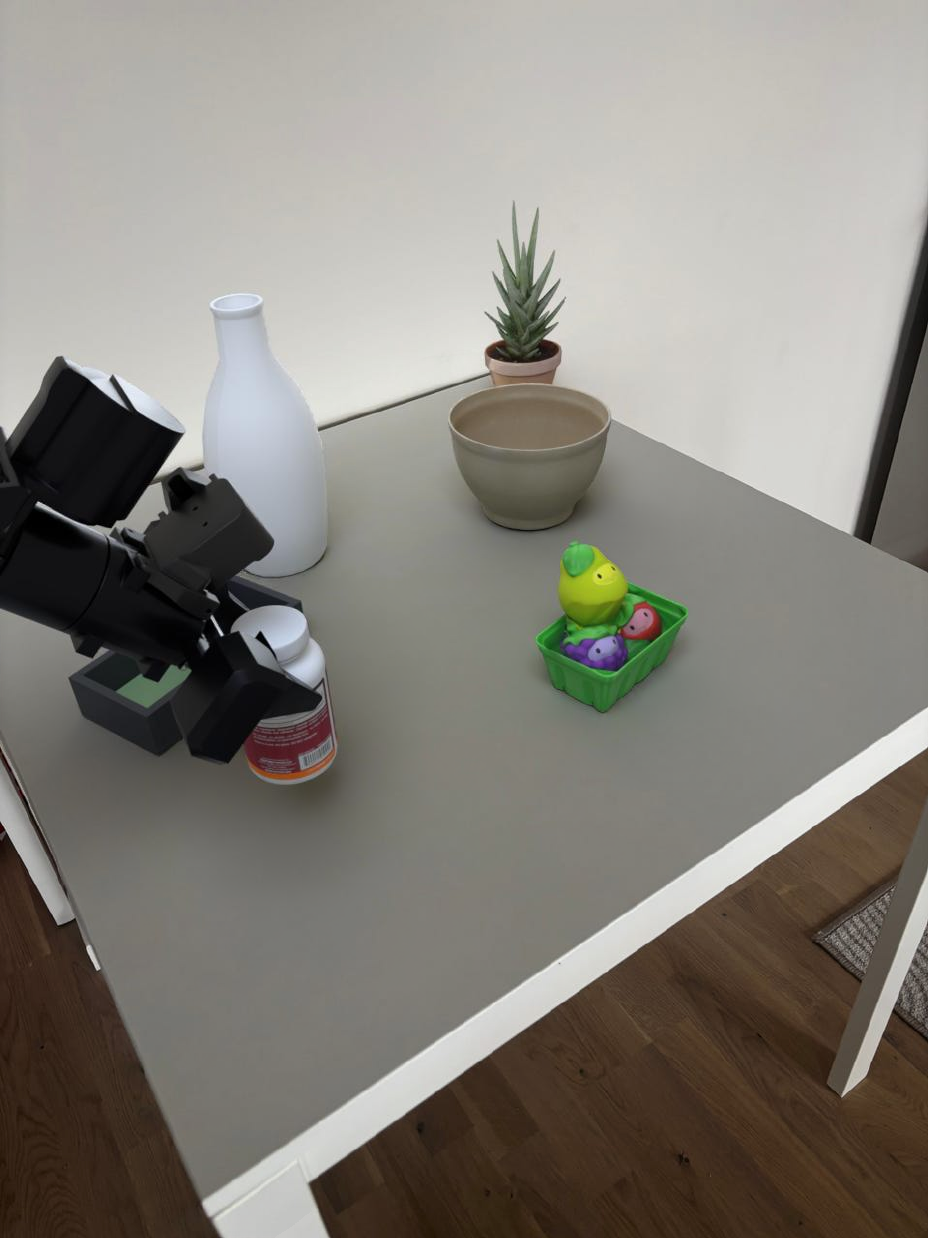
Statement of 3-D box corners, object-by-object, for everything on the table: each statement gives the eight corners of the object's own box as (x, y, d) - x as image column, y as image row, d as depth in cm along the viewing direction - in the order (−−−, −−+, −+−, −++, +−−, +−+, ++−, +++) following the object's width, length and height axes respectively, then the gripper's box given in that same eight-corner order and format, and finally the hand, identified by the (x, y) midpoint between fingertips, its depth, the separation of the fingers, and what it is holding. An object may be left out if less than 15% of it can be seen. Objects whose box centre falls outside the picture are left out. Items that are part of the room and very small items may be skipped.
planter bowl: (624, 539, 97) (631, 439, 91) (465, 558, 95) (461, 458, 89) (584, 466, 110) (587, 374, 103) (443, 481, 108) (438, 389, 102)
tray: (158, 757, 74) (146, 717, 72) (82, 716, 79) (67, 677, 76) (308, 638, 86) (301, 600, 83) (233, 608, 90) (225, 571, 88)
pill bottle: (259, 724, 69) (232, 596, 62) (345, 725, 68) (327, 596, 62) (237, 788, 64) (205, 656, 57) (330, 790, 63) (309, 657, 57)
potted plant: (531, 383, 129) (532, 185, 115) (575, 407, 123) (581, 200, 108) (468, 402, 125) (460, 199, 111) (510, 428, 119) (507, 216, 104)
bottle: (348, 570, 94) (314, 311, 79) (234, 595, 92) (176, 332, 77) (323, 516, 103) (288, 273, 88) (218, 538, 100) (163, 291, 85)
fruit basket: (606, 729, 75) (614, 611, 68) (519, 682, 80) (518, 567, 73) (687, 659, 81) (701, 544, 75) (601, 618, 86) (608, 508, 80)
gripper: (213, 538, 44) (440, 654, 54) (123, 398, 57) (319, 512, 68) (80, 727, 46) (325, 803, 56) (23, 547, 59) (229, 636, 70)
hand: (299, 674), depth 62 cm, fingers closed on pill bottle, 6 cm apart
